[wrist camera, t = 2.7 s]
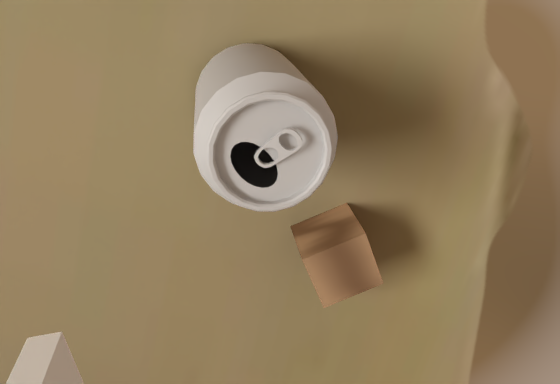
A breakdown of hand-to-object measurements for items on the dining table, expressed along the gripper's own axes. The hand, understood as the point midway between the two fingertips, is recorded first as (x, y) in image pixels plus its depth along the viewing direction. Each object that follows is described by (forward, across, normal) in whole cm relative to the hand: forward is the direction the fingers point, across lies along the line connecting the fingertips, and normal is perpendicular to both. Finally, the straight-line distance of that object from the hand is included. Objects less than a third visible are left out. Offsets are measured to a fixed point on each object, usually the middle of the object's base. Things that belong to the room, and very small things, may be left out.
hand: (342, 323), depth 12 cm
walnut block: (+24, +5, -13) cm, 28 cm away
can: (+24, 0, 0) cm, 24 cm away
